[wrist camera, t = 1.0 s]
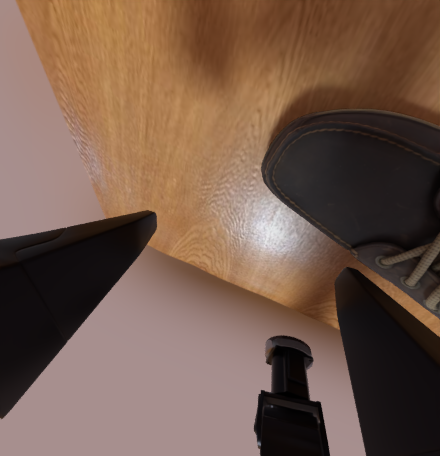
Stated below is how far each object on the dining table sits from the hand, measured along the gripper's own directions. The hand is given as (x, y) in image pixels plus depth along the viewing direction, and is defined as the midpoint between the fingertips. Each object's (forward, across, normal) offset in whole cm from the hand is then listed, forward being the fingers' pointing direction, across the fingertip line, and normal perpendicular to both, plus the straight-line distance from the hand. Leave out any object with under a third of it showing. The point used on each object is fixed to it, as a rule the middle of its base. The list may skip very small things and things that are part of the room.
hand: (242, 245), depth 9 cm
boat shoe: (+13, -14, 0) cm, 20 cm away
